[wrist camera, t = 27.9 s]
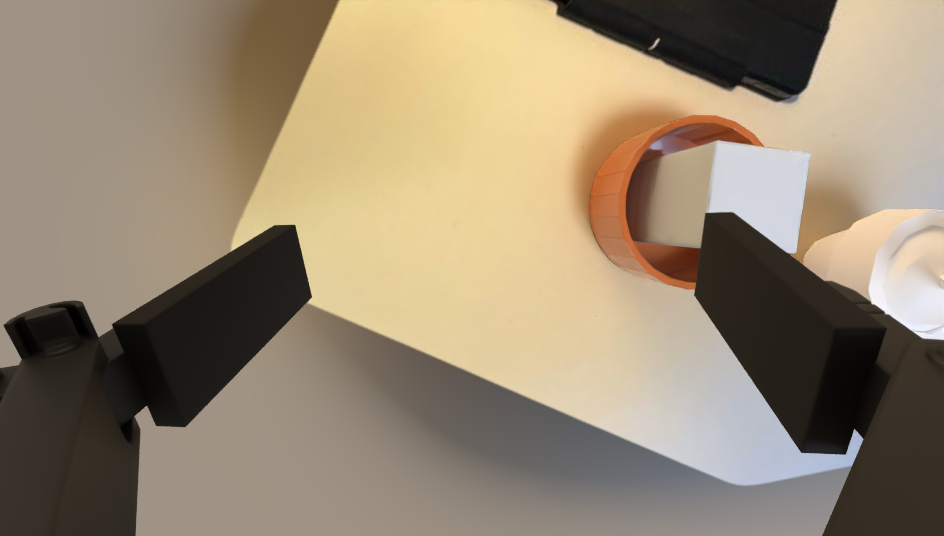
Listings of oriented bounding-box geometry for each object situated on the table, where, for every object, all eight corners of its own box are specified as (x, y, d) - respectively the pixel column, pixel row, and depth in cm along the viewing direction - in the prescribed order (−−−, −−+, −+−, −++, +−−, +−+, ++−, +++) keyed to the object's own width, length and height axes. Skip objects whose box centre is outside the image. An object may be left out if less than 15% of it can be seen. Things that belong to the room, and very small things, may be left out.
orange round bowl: (562, 179, 43) (588, 172, 37) (689, 102, 44) (736, 82, 37) (632, 306, 45) (668, 320, 39) (751, 230, 46) (806, 233, 39)
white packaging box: (692, 247, 45) (798, 258, 32) (619, 240, 44) (700, 249, 31) (702, 170, 44) (816, 151, 32) (629, 161, 43) (716, 138, 31)
